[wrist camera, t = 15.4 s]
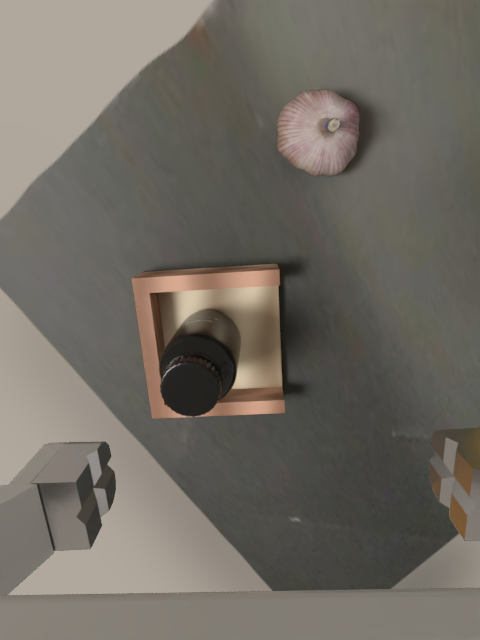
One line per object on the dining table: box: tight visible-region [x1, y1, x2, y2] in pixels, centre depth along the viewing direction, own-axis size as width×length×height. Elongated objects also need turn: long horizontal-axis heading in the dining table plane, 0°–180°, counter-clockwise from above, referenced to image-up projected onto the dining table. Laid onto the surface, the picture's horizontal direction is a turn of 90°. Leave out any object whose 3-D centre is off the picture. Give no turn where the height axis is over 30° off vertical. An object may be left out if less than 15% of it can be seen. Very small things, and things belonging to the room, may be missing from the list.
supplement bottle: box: [159, 310, 241, 417], centre depth 35 cm, size 7×7×12 cm
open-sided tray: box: [132, 264, 285, 418], centre depth 40 cm, size 14×15×4 cm
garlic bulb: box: [277, 89, 360, 176], centre depth 32 cm, size 8×7×8 cm
